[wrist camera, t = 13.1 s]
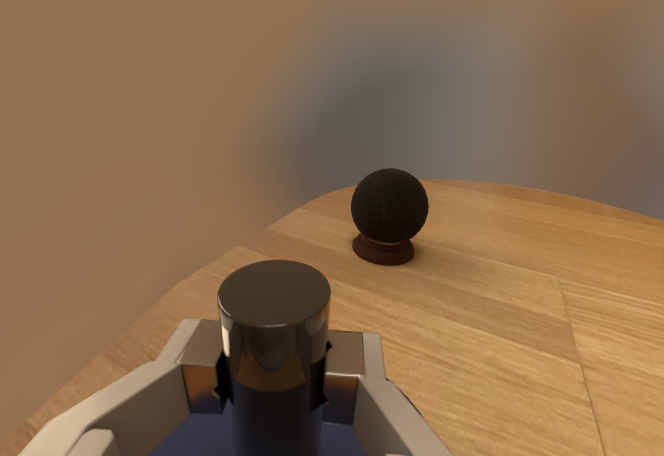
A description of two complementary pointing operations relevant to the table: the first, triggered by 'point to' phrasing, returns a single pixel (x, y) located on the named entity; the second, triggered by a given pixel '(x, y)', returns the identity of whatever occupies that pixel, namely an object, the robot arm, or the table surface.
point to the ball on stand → (388, 216)
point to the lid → (270, 370)
